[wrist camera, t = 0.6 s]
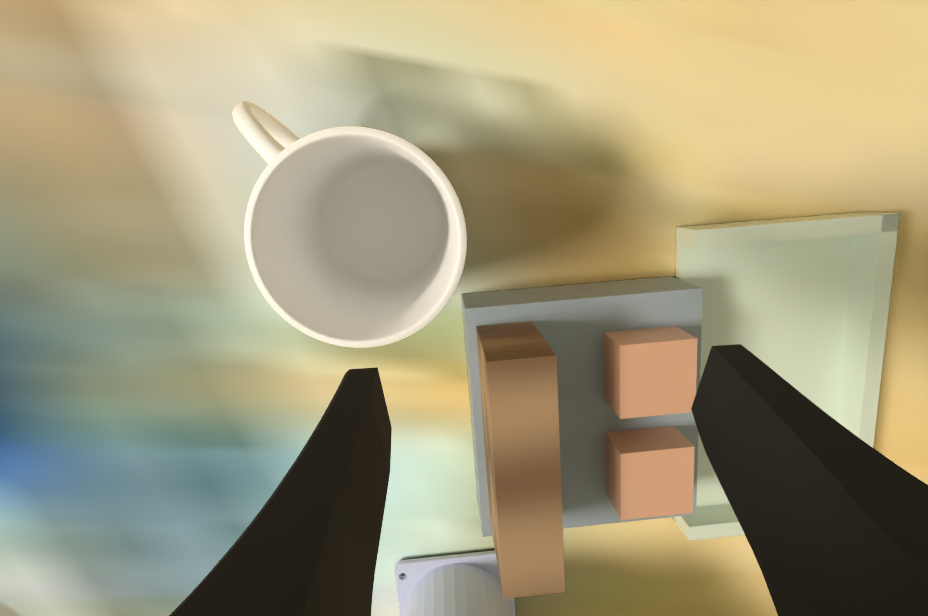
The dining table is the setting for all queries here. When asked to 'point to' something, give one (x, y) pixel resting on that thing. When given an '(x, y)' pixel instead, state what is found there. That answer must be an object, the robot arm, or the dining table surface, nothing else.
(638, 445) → the tile
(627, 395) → the tile
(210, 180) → the dining table surface
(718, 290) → the tray
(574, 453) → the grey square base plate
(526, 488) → the long brown wooden post
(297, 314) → the mug
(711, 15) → the dining table surface
